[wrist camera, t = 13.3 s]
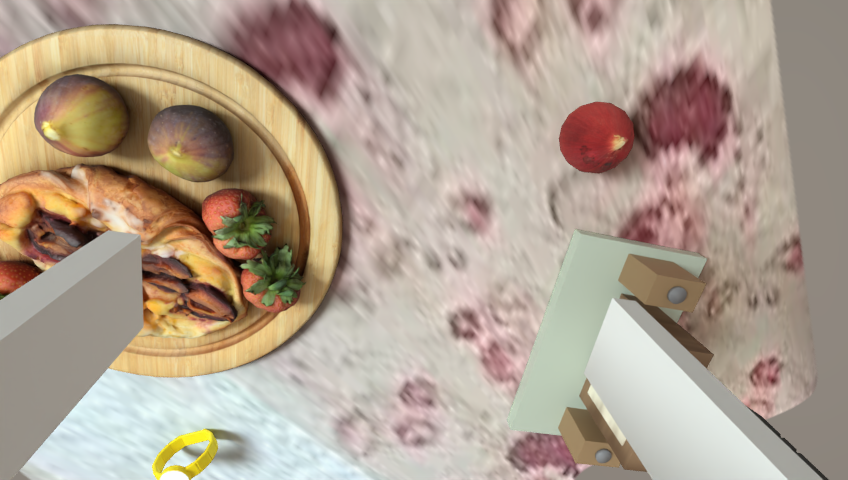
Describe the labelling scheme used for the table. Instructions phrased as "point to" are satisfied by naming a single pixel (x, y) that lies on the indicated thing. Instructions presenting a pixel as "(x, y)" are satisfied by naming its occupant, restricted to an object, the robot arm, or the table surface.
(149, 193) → the wooden plate with food
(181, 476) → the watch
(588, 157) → the onion
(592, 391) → the wooden frame
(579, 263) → the wall board
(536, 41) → the table surface
